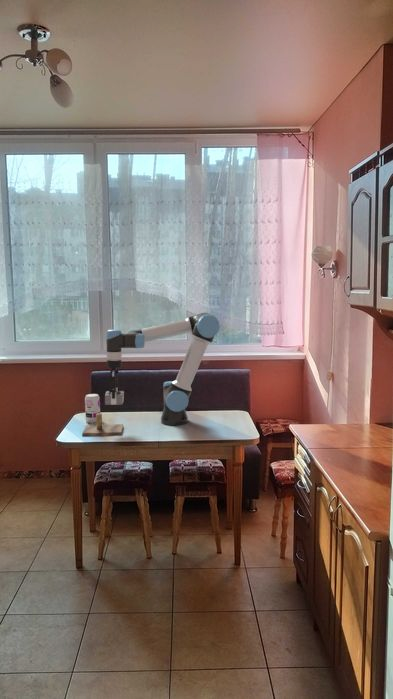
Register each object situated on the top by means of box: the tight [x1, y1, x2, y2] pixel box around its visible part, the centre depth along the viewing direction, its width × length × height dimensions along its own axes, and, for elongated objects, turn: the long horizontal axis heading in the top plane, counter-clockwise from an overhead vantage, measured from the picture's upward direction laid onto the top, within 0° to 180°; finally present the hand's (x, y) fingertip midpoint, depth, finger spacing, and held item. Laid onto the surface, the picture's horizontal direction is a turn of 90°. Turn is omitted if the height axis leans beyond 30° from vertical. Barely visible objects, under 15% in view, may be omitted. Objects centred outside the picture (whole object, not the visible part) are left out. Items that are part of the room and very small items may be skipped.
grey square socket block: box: [104, 390, 125, 406], centre depth 261 cm, size 9×9×5 cm
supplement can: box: [84, 393, 101, 424], centre depth 283 cm, size 8×8×15 cm
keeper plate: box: [81, 412, 124, 437], centre depth 265 cm, size 20×14×10 cm
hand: (114, 401), depth 262 cm, fingers closed on grey square socket block, 9 cm apart
